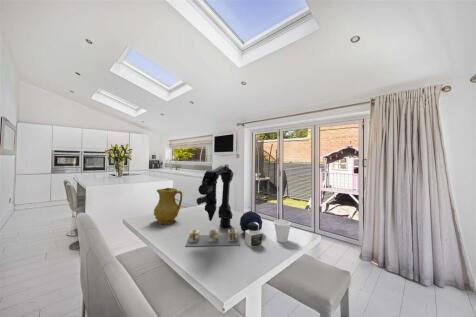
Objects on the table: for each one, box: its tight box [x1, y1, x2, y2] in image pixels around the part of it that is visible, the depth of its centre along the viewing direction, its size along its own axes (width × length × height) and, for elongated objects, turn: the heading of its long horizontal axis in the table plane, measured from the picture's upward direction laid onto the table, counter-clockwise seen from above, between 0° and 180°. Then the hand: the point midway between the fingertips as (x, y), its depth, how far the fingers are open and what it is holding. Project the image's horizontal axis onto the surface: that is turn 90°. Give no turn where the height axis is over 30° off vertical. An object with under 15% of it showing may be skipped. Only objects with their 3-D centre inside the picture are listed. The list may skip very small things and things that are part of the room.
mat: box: [185, 234, 241, 248], centre depth 112 cm, size 30×14×1 cm, turn 95°
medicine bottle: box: [244, 222, 263, 248], centre depth 109 cm, size 7×7×12 cm
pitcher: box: [153, 187, 183, 225], centre depth 143 cm, size 17×19×25 cm
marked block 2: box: [227, 228, 238, 241], centre depth 113 cm, size 5×5×5 cm
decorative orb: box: [239, 210, 263, 234], centre depth 124 cm, size 14×15×15 cm
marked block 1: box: [188, 229, 200, 242], centre depth 111 cm, size 5×5×5 cm
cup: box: [273, 219, 292, 244], centre depth 114 cm, size 10×10×11 cm
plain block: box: [208, 229, 219, 242], centre depth 112 cm, size 5×5×5 cm
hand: (210, 218), depth 113 cm, fingers open, 9 cm apart
